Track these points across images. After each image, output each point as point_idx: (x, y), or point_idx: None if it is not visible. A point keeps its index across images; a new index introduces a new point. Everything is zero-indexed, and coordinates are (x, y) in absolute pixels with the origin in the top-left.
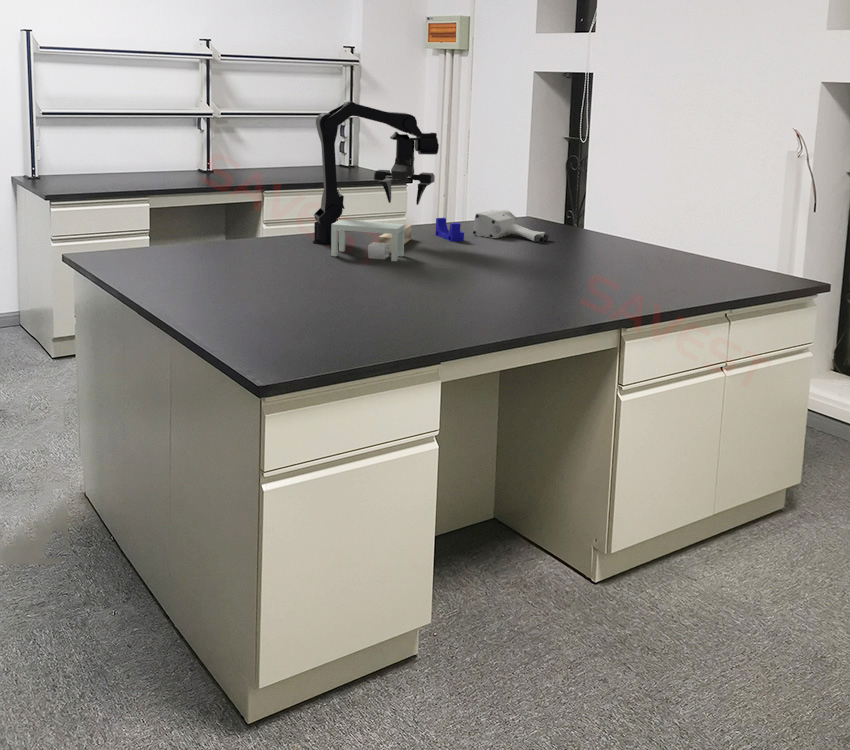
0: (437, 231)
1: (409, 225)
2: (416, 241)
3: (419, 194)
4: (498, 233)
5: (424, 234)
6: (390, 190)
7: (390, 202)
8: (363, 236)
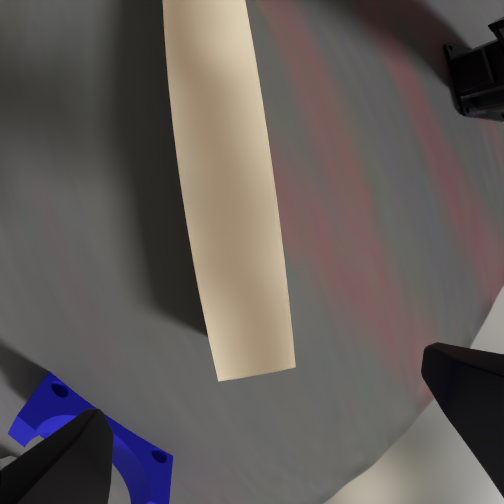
0: (161, 464)
1: (220, 359)
2: (165, 300)
3: (3, 475)
4: (1, 466)
5: (216, 450)
6: (501, 454)
7: (422, 366)
8: (426, 269)
